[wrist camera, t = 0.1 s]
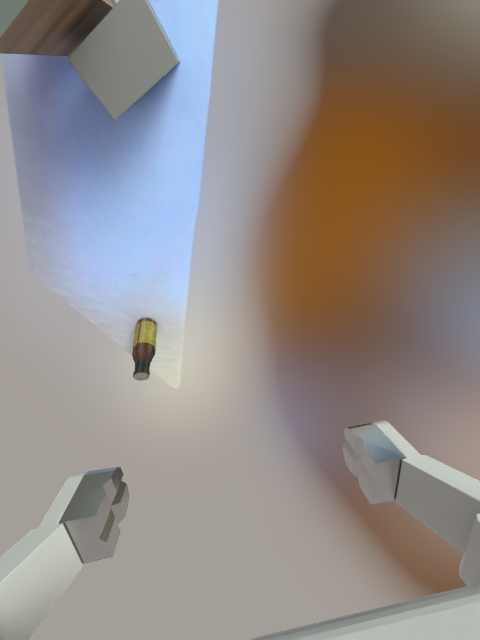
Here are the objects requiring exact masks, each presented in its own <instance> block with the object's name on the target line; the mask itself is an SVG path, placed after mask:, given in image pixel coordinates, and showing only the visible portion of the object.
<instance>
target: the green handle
mask: <svg viewBox="0 0 480 640" xmlns="http://www.w3.org/2000/svg"><path fill="white" fill-rule="evenodd" d="M28 1H29V0H0V37H1V36H2V35H3V33H4V32H5V31H6V29H7V28H8V27H9V25H10V24H11V23H12V22H13V20H14V19H15V18H16V16H17V15H18V14H19V12H20V11H21V10H22V9H23V7H24V6H25V5H26V3H27V2H28Z"/></svg>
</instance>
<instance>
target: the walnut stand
mask: <svg viewBox="0 0 480 640" xmlns="http://www.w3.org/2000/svg"><path fill="white" fill-rule="evenodd" d="M115 5H116V3H115V1H114V0H29V1H28V2H27V3H26V5H25V6H24V7H23V9H22V10H21V11H20V12H19V14H18V15H17V16H16V18H15V19H14V20H13V22H12V23H11V24H10V25H9V27H8V28H7V29H6V31H5V32H4V33H3V35H2V36H1V37H0V53H7V54H33V55H59V56H70V55H71V54H72V53H73V52H74V51H75V50H76V49H77V48H78V47H79V45H80V44H81V43H82V42H83V41H84V40H85V39H86V38H87V37H88V35H89V34H90V33H91V32H92V31H93V30H94V29H95V28H96V27H97V25H98V24H99V23H100V22H101V21H102V20H103V19H104V18H105V17H106V15H107V14H108V13H109V12H110V11H111V10H112V9H113V8H114V6H115Z"/></svg>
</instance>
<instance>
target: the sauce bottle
mask: <svg viewBox="0 0 480 640" xmlns="http://www.w3.org/2000/svg"><path fill="white" fill-rule="evenodd" d="M156 334H157V327H156V323H155V321H153V320H151V319H149V318H145V319H141V320H139V321H138V323H137V326H136V331H135V338H134V344H133V353H132V356H133V359H134V361H135V371H134V373H133V377H134V379H136V380H146V379H148V378H149V375H150V372H149V366H150V363H151V361H152V359H153V357H154V355H155V348H156Z"/></svg>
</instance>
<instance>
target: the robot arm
mask: <svg viewBox="0 0 480 640" xmlns="http://www.w3.org/2000/svg"><path fill="white" fill-rule="evenodd" d="M344 437H345V438H346V440H347V441H346V442H345V443H344V445H343V454H344V458H345V461H346V464H347V466H348V468H349V470H350V471H351V473H352V474H354V475H355V476H357V477H358V478H359V486H360V488H361V489H362V491H363V493H364V494H365V496H366V497H367V499H368V501H369V502H370V504H377V503H382V502H389V501H394V500H396V501H395V502H396V503H398V504H399V505H400V506H401V507H403V508H404V509H405V510H407V511H408V512H409V513H410V514H412V515H413V516H414V517H416V518H417V519H418V520H420V521H421V522H422V523H423V524H425V525H426V526H427V527H429V528H430V529H431V530H433V531H434V532H435V533H437V534H438V535H439V536H440V537H442V538H443V539H444V540H445V541H447V542H448V543H449V544H451V545H452V546H453V547H455V548H456V549H457V550H458V551H460V552H461V553H463V554H464V555H463V558H462V561H461V565H460V568H459V576H460V577H461V578H462V580H463V581H464V582H465V584H466V585H467V587H463V588H459V589H455V590H450V591H446V592H442V593H438V594H434V595H430V596H426V597H422V598H417V599H413V600H409V601H405V602H401V603H397V604H393V605H388V606H384V607H380V608H376V609H372V610H368V611H363V612H359V613H355V614H351V615H347V616H343V617H338V618H335V619H331V620H326V621H322V622H318V623H314V624H310V625H305V626H301V627H297V628H293V629H289V630H285V631H281V632H276V633H273V634H268V635H264V636H260V637H256V638H251V639H247V640H480V481H478V480H476V479H474V478H472V477H470V476H468V475H466V474H464V473H462V472H460V471H457V470H455V469H453V468H451V467H449V466H447V465H445V464H443V463H441V462H439V461H437V460H435V459H433V458H430V457H428V456H426V455H423V456H421V455H420V454H419V453H418V452H417V451H416V450H415V449H414V448H413V447H412V446H411V445H410V444H409V443H408V442H407V441H406V440H405V439H404V438H403V437H402V436H401V435H400V434H399V433H398V432H397V431H396V430H395V429H394V428H393V427H392V426H391V425H390V424H389V423H388V422H386V421H384V420H383V421H378V422H372V423H367V424H361V425H356V426H350V427H346V428H345V430H344ZM122 477H123V472H122V470H121V467H115V468H107V469H101V470H93V471H88V472H82V473H75V474H72V475H71V476H70V477H68V479H67V480H66V482H65V484H64V485H63V487H62V489H61V490H60V492H59V494H58V495H57V497H56V499H55V500H54V502H53V504H52V505H51V507H50V509H49V510H48V512H47V514H46V515H45V517H44V519H43V520H42V522H41V524H40V525H39V527H38V528H35V529H32V530H31V531H30V532H29V533H27V534H26V535H25V536H24V537H23V538H22V539H21V540H20V541H18V542H17V543H16V544H15V545H14V546H13V547H12V548H11V549H9V550H8V551H7V552H6V553H5V554H4V555H3V556H1V557H0V640H28V639H29V638H30V637H31V635H32V634H33V633H34V631H35V630H36V629H37V627H38V626H39V625H40V623H41V622H42V621H43V619H44V618H45V617H46V615H47V614H48V612H49V611H50V610H51V608H52V607H53V606H54V604H55V603H56V602H57V600H58V599H59V598H60V596H61V595H62V594H63V592H64V591H65V590H66V588H67V587H68V586H69V584H70V583H71V582H72V580H73V579H74V577H75V576H76V575H77V573H78V572H79V571H80V569H81V568H82V567H83V564H84V563H88V562H92V561H97V560H101V559H105V558H109V557H113V554H114V551H115V547H116V544H117V541H118V538H119V534H120V529H119V527H118V524H119V523H120V521H121V520H122V519H123V518H124V517H125V515H126V511H127V508H128V500H129V492H128V487H127V484H126V483H124V482H123V481H121V479H122Z"/></svg>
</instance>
